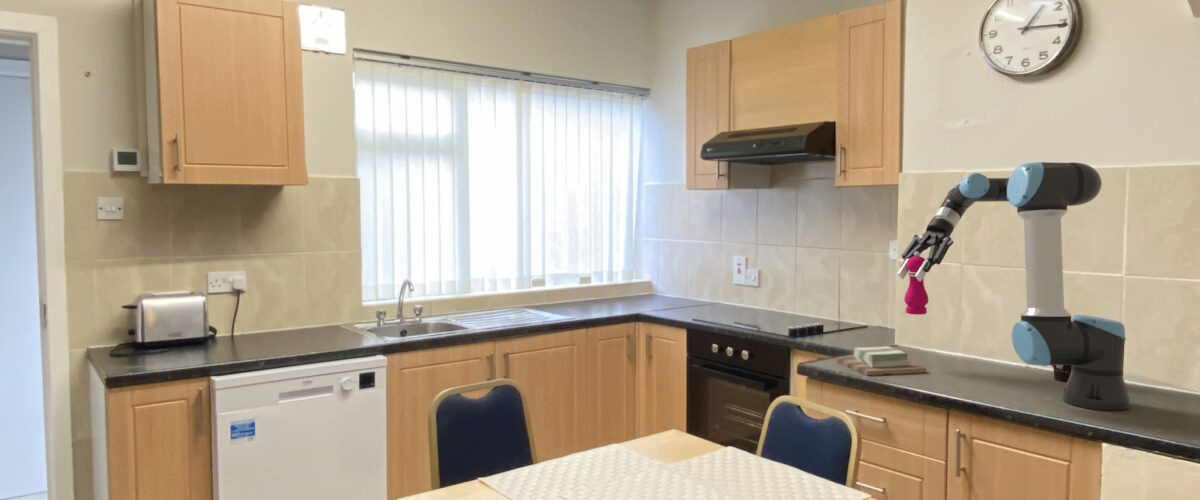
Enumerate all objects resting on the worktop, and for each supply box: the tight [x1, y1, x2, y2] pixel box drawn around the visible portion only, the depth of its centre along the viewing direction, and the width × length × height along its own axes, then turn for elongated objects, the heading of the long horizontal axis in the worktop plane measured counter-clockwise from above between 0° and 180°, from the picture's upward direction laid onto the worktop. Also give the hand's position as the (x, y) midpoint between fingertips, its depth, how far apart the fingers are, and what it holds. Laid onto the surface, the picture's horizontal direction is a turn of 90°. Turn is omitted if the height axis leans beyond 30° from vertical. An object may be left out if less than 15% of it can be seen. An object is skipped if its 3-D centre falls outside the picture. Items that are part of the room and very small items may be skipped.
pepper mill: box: [903, 252, 929, 316], centre depth 245 cm, size 7×7×20 cm
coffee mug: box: [1050, 365, 1072, 383], centre depth 230 cm, size 12×9×10 cm
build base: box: [836, 345, 927, 377], centre depth 247 cm, size 20×20×6 cm
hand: (909, 277), depth 243 cm, fingers closed on pepper mill, 6 cm apart
